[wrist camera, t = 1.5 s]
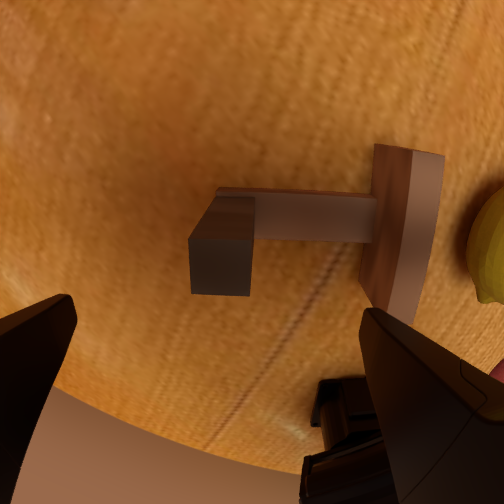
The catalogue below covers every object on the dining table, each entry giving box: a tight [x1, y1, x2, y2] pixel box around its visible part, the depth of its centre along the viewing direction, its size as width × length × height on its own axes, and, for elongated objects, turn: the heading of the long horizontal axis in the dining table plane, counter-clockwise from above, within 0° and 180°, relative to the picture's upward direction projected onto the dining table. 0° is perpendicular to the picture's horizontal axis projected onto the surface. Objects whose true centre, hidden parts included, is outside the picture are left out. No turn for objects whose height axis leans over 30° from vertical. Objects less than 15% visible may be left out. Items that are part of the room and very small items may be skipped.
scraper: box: [188, 144, 445, 324], centre depth 17 cm, size 10×12×10 cm
